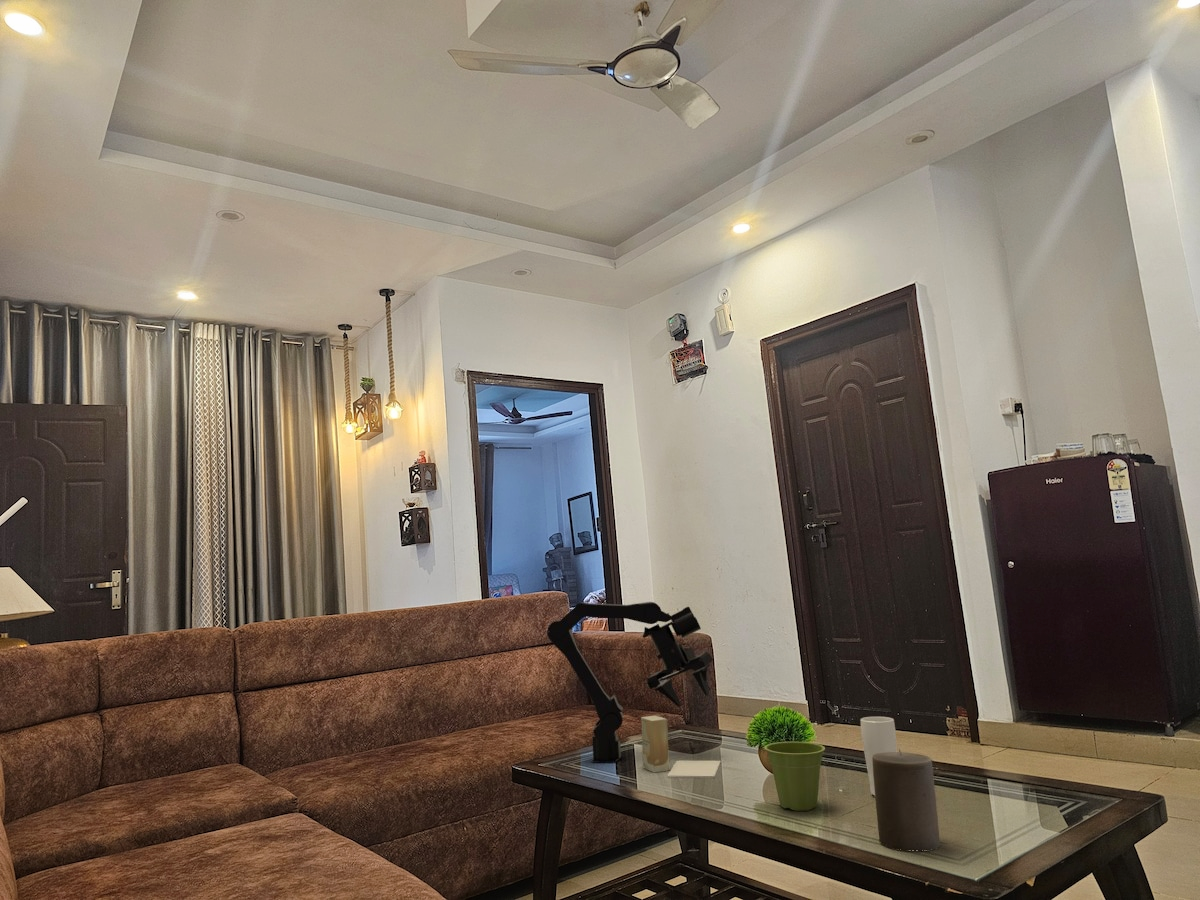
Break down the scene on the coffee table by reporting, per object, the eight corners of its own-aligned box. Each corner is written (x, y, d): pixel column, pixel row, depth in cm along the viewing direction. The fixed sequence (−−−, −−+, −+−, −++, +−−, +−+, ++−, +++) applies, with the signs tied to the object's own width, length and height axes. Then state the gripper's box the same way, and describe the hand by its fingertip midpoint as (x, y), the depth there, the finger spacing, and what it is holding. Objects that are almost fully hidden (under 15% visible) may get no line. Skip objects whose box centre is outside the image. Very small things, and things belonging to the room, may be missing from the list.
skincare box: (642, 768, 196) (639, 716, 199) (657, 765, 198) (655, 714, 200) (654, 773, 191) (651, 720, 193) (670, 770, 193) (667, 718, 195)
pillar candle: (884, 852, 129) (875, 755, 132) (874, 833, 139) (867, 743, 141) (947, 853, 127) (937, 755, 130) (933, 834, 137) (924, 743, 139)
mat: (667, 777, 186) (667, 775, 186) (677, 762, 201) (677, 760, 201) (714, 777, 183) (714, 775, 184) (720, 762, 199) (720, 760, 199)
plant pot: (792, 818, 150) (787, 755, 151) (757, 804, 160) (752, 745, 162) (843, 809, 154) (837, 748, 156) (805, 795, 165) (801, 739, 167)
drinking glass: (886, 789, 166) (878, 715, 169) (909, 797, 160) (901, 719, 163) (860, 794, 164) (852, 718, 166) (883, 801, 158) (875, 723, 160)
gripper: (707, 625, 214) (733, 679, 211) (653, 648, 223) (678, 700, 221) (690, 637, 205) (718, 694, 202) (634, 661, 214) (660, 715, 211)
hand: (693, 700), depth 209 cm, fingers open, 9 cm apart
